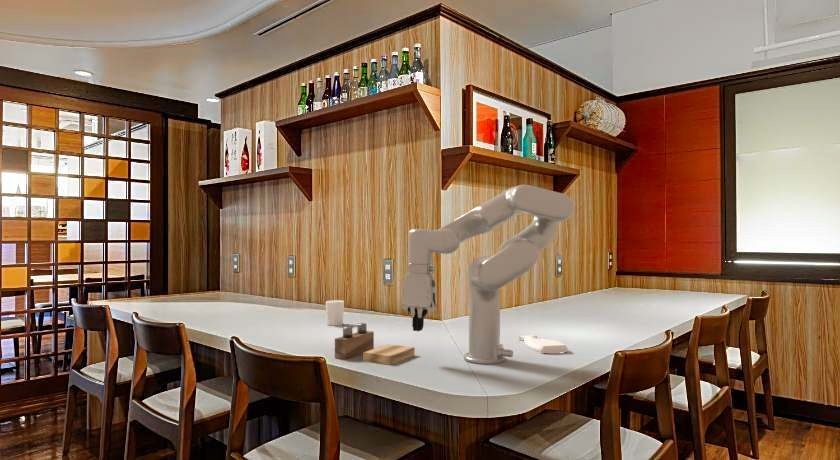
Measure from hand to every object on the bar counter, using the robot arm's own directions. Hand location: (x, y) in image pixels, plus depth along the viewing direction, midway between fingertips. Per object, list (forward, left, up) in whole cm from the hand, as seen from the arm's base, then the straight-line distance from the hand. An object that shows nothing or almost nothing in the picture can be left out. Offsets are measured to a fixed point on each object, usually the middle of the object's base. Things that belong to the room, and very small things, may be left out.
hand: (417, 330), depth 158 cm
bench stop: (+23, 0, -10) cm, 25 cm away
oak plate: (+10, 0, -10) cm, 14 cm away
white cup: (+63, -42, -10) cm, 77 cm away
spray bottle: (-26, -40, -10) cm, 49 cm away
